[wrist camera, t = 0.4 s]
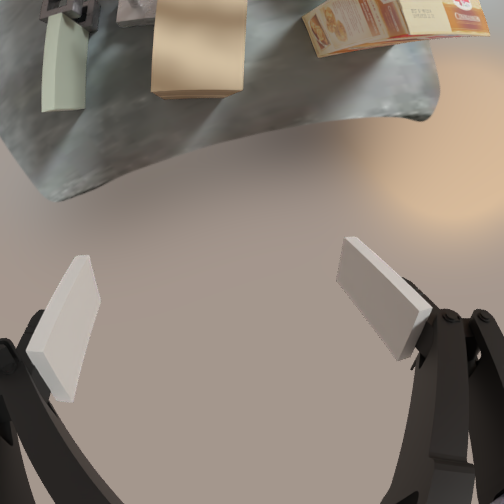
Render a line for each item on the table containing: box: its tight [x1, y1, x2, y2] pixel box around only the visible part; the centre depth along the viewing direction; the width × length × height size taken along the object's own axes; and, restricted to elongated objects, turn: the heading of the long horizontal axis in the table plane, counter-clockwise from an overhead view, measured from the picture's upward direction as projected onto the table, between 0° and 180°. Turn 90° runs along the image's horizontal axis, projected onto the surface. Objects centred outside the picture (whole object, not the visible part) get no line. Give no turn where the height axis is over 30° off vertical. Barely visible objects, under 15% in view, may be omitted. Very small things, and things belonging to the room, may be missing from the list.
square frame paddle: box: [39, 0, 101, 112], centre depth 22 cm, size 15×4×10 cm, turn 178°
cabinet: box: [116, 0, 247, 100], centre depth 23 cm, size 15×14×14 cm
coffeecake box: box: [302, 0, 490, 58], centre depth 23 cm, size 15×7×20 cm, turn 111°
